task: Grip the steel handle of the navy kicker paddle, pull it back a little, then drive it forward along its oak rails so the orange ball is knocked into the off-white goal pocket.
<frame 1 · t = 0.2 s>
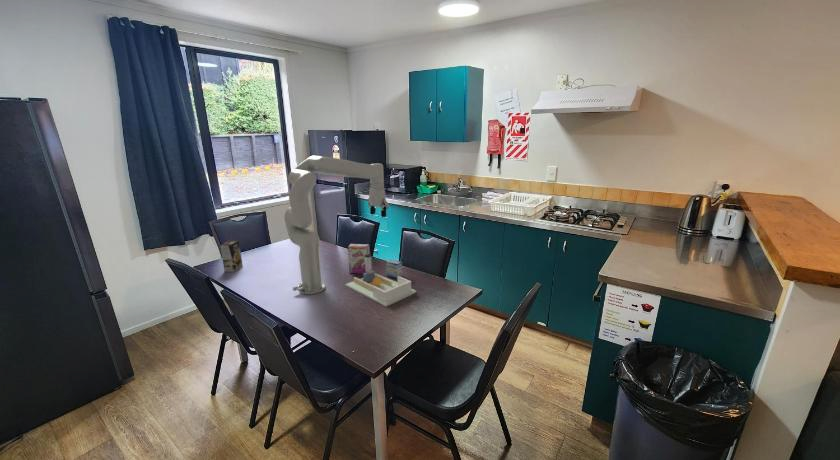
hand: (378, 215, 198), 31 cm above the table, fingers open, 9 cm apart
medicine box: (394, 276, 192), on the table
coffee box: (233, 269, 202), on the table
ball: (376, 281, 177), point 3 cm above the table, touching white tray
kicker: (368, 267, 179), point 9 cm above the table, slide at 2.0 cm
candy bar box: (360, 272, 197), on the table
white tray: (380, 289, 176), on the table
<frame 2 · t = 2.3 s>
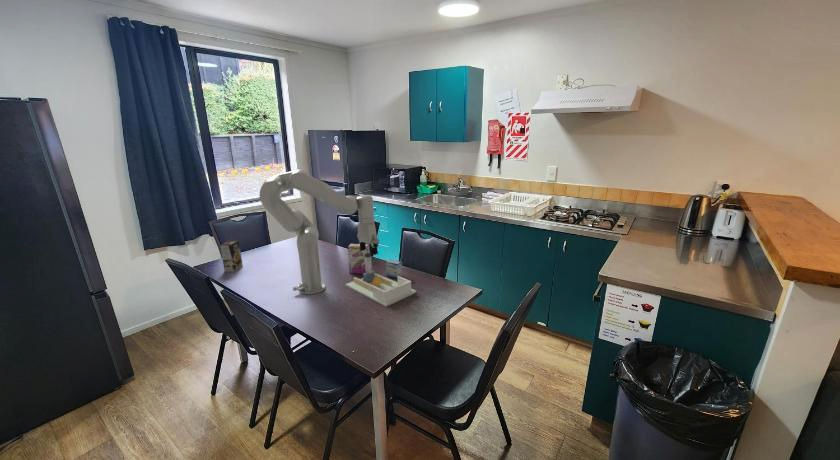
hand: (368, 252, 177), 18 cm above the table, fingers open, 9 cm apart
nothing on the table moved.
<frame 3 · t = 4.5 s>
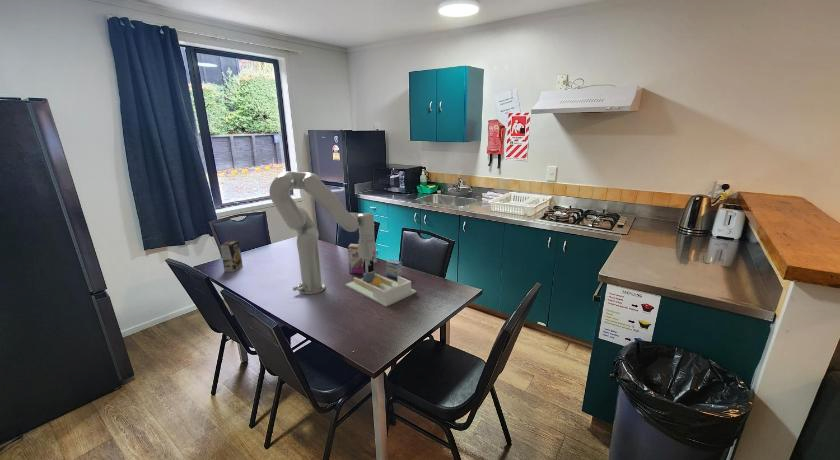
hand: (368, 270, 180), 8 cm above the table, fingers closed on kicker, 3 cm apart
kicker: (368, 267, 179), point 9 cm above the table, slide at 2.0 cm, touching gripper
everything else where it was.
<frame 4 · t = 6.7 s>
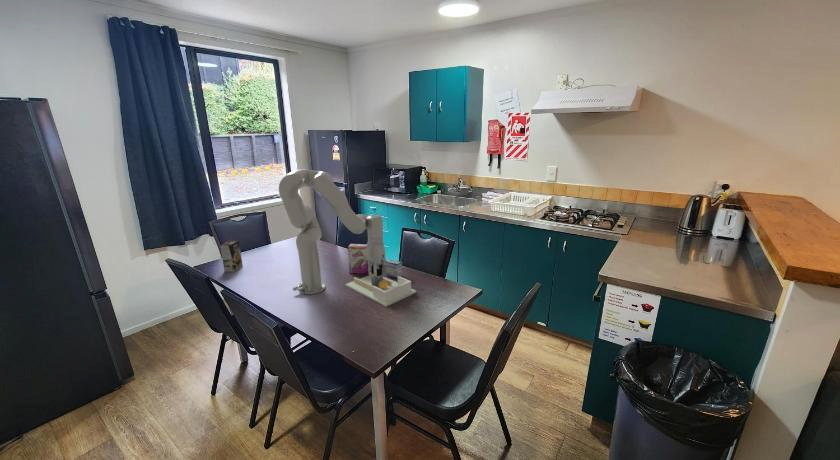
hand: (377, 274, 175), 8 cm above the table, fingers closed on kicker, 3 cm apart
ball: (383, 284, 173), point 3 cm above the table, tilted 119°, touching white tray
kicker: (376, 271, 175), point 9 cm above the table, slide at 8.9 cm, touching gripper
everything else where it was.
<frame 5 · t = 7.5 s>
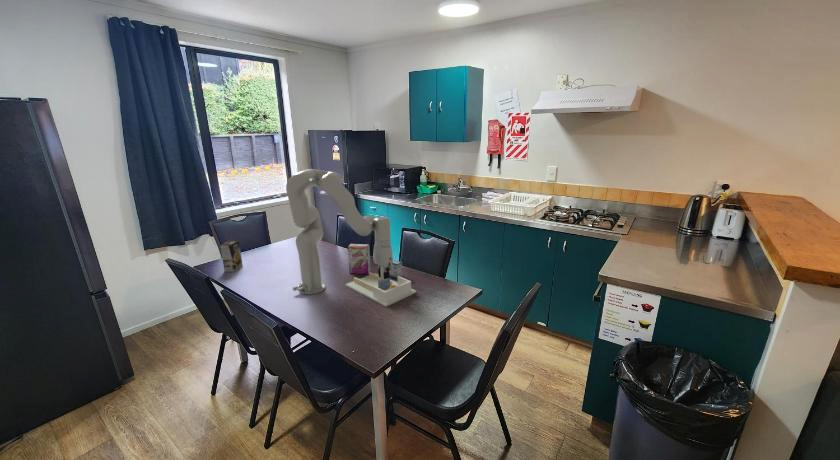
hand: (384, 277, 171), 8 cm above the table, fingers closed on kicker, 3 cm apart
ball: (393, 289, 168), point 3 cm above the table, tilted 31°, touching white tray
kicker: (383, 274, 171), point 9 cm above the table, slide at 14.4 cm, touching gripper
everything else where it was.
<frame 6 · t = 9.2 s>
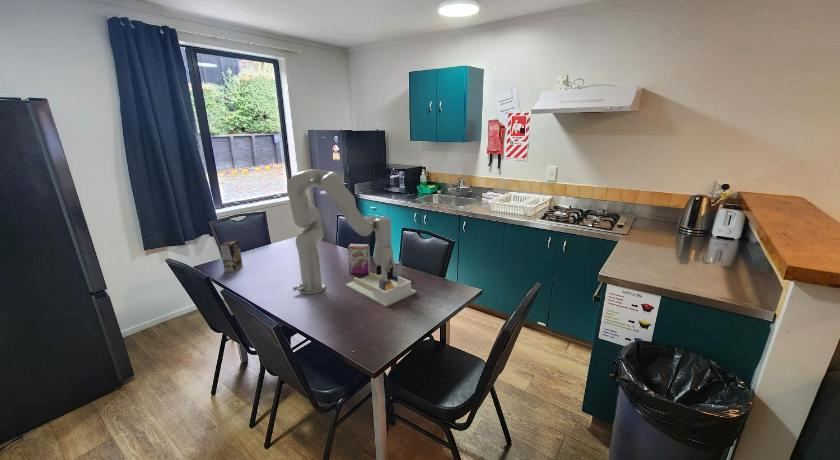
hand: (384, 276, 171), 8 cm above the table, fingers open, 7 cm apart
ball: (389, 287, 170), point 3 cm above the table, tilted 117°, touching white tray
kicker: (384, 274, 171), point 9 cm above the table, slide at 15.0 cm
everything else where it was.
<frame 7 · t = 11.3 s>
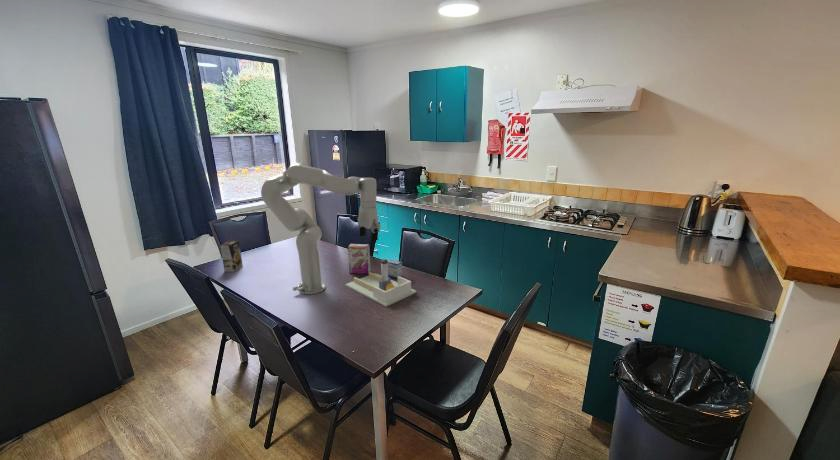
hand: (368, 238, 169), 27 cm above the table, fingers open, 9 cm apart
ball: (390, 288, 170), point 3 cm above the table, tilted 102°, touching white tray
everything else where it was.
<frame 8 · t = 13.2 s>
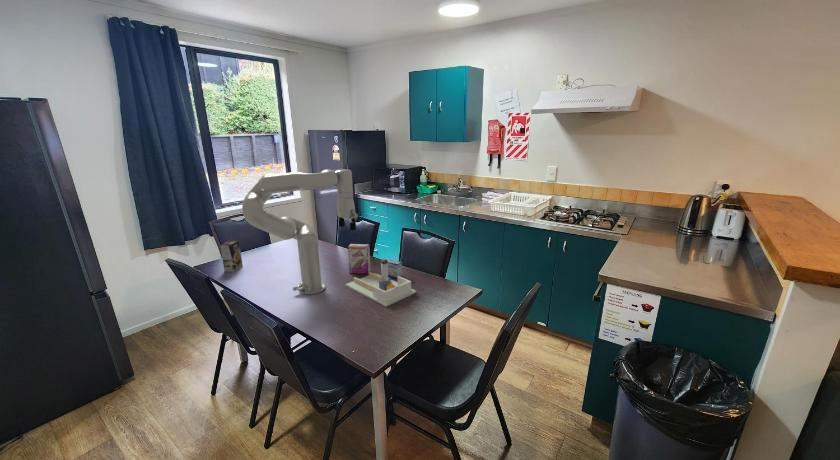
hand: (347, 228, 175), 30 cm above the table, fingers open, 9 cm apart
ball: (390, 288, 169), point 3 cm above the table, tilted 88°, touching white tray
everything else where it was.
at the end: ball inside the target area on the white tray (1.1 cm from its centre), point 3.2 cm above the white tray's base; kicker slide at 15.0 cm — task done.
